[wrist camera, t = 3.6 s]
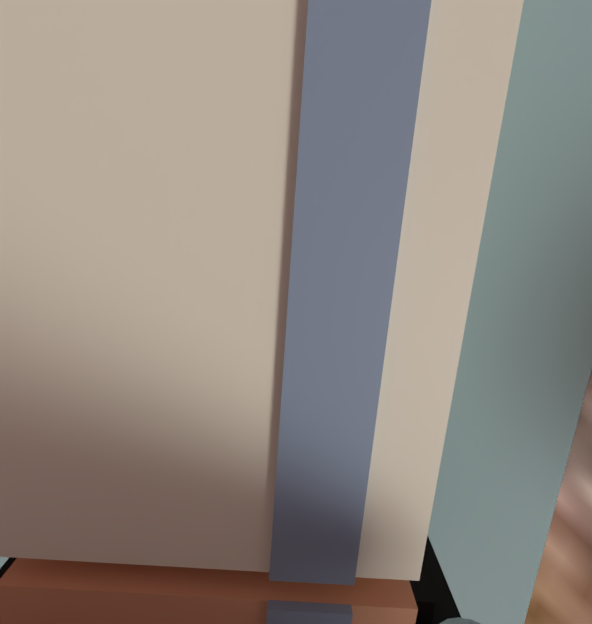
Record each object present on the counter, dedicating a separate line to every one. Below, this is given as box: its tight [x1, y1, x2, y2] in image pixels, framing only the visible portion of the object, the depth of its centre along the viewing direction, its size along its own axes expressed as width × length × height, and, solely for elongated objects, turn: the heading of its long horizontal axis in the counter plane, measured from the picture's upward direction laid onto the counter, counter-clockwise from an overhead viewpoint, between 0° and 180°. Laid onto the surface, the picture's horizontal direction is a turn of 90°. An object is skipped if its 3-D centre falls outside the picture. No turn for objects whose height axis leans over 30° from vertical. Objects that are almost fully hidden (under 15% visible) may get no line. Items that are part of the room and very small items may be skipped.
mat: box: [0, 0, 592, 624], centre depth 10 cm, size 26×16×1 cm, turn 176°
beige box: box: [0, 0, 524, 585], centre depth 6 cm, size 12×5×5 cm, turn 176°
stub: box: [0, 558, 418, 624], centre depth 8 cm, size 5×5×5 cm
